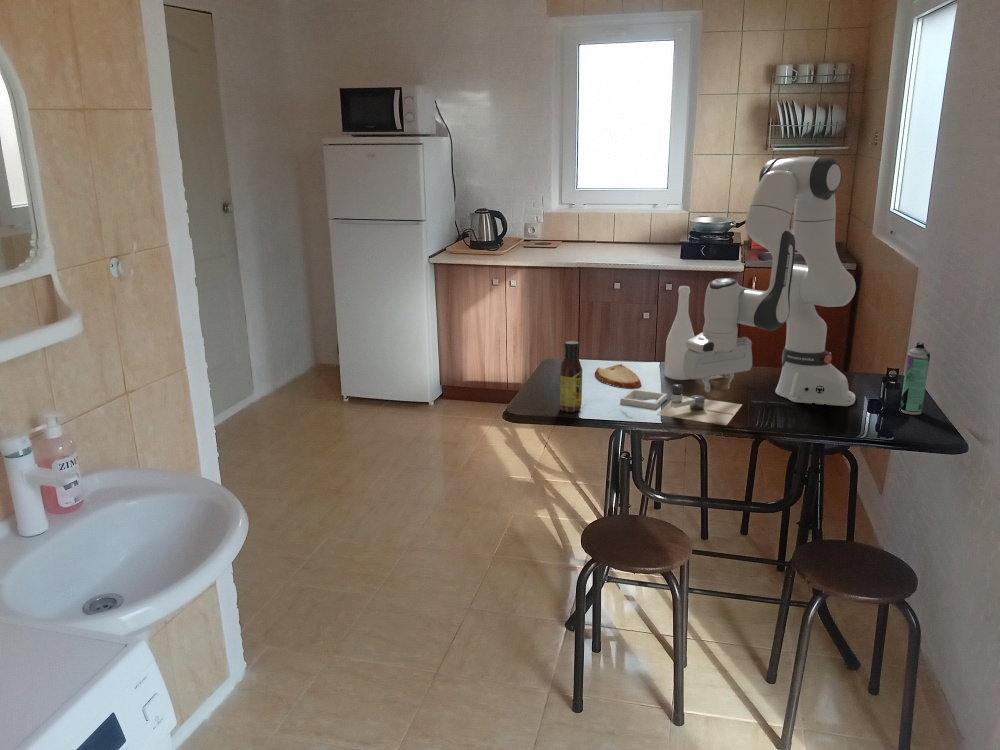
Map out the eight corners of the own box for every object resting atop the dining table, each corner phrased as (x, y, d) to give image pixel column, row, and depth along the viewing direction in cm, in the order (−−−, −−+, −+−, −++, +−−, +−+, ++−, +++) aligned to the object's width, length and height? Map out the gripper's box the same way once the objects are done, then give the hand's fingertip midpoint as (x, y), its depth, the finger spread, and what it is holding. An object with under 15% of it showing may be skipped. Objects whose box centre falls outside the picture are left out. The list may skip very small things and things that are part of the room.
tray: (666, 403, 224) (667, 393, 223) (655, 413, 215) (656, 403, 214) (632, 398, 229) (632, 389, 228) (620, 408, 220) (620, 398, 219)
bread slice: (638, 390, 238) (639, 379, 237) (584, 384, 245) (584, 373, 244) (652, 376, 254) (653, 365, 253) (601, 370, 261) (601, 359, 260)
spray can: (920, 410, 217) (931, 341, 212) (922, 415, 212) (932, 346, 207) (899, 407, 219) (908, 340, 214) (900, 413, 214) (910, 344, 209)
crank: (696, 404, 217) (698, 378, 215) (707, 408, 214) (709, 381, 212) (667, 411, 211) (668, 384, 209) (677, 415, 208) (678, 388, 206)
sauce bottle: (580, 414, 216) (581, 345, 210) (558, 412, 217) (559, 344, 211) (582, 406, 222) (584, 340, 216) (561, 405, 223) (562, 339, 218)
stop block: (718, 392, 209) (719, 375, 208) (727, 396, 205) (728, 379, 204) (705, 394, 208) (706, 377, 206) (715, 398, 204) (716, 381, 203)
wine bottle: (688, 372, 256) (694, 284, 248) (697, 380, 247) (703, 288, 239) (661, 373, 256) (665, 284, 248) (668, 381, 247) (674, 289, 238)
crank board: (741, 409, 219) (742, 404, 218) (726, 430, 202) (726, 424, 201) (676, 400, 227) (677, 394, 227) (656, 419, 211) (656, 414, 210)
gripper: (744, 333, 209) (740, 381, 213) (680, 342, 202) (678, 391, 206) (759, 338, 203) (755, 387, 207) (694, 347, 196) (692, 398, 200)
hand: (716, 389), depth 206 cm, fingers closed on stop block, 4 cm apart
